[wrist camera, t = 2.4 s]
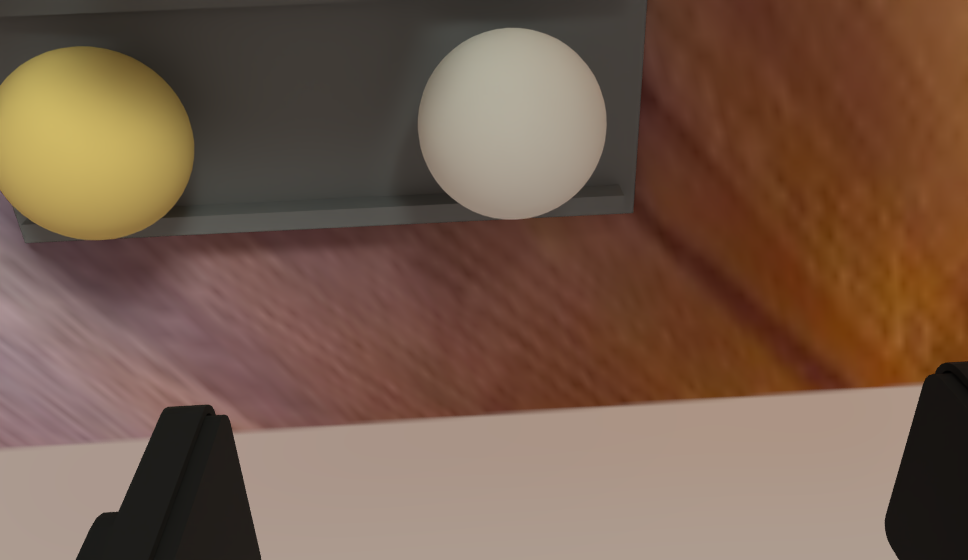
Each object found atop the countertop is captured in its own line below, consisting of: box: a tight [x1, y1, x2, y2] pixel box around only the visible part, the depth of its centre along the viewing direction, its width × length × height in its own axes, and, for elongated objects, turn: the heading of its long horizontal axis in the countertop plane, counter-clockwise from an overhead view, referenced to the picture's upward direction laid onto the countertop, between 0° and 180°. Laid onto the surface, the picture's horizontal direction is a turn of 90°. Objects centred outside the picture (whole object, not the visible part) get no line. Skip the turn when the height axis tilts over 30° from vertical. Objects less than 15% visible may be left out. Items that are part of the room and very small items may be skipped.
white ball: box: [418, 28, 607, 219], centre depth 23 cm, size 5×5×5 cm
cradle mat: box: [0, 0, 647, 243], centre depth 24 cm, size 19×8×1 cm, turn 92°
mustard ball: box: [0, 46, 194, 240], centre depth 22 cm, size 5×5×5 cm
